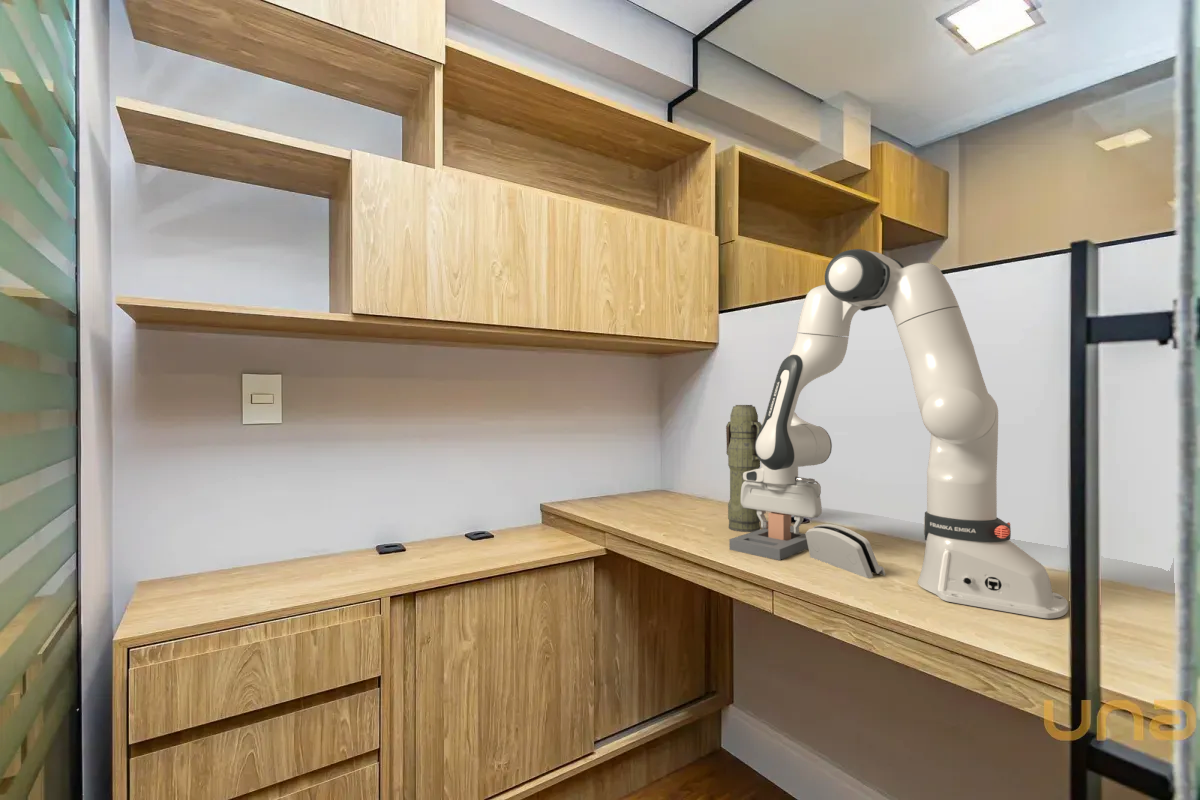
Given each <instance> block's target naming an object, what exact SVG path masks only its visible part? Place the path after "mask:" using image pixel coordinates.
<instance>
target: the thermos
mask: <svg viewBox="0 0 1200 800" xmlns="http://www.w3.org/2000/svg"><path fill="white" fill-rule="evenodd" d="M729 418H730V421H728V422H727V423H726V426H725V429H726V430H725V432H726V433H725V434H726V435H725V436H726V452H725V453H726V455H727V456H728V458H727V462H728V463H727V465H728V468H729V501H728V504H727V518H728V529H729V530H731V531H736V532H741V533H743V532H744V533H751V532H754V531H757V530H760V529H761V521H760V519H759V517H758V515H757V510H755V509H748V508H744V507H743V506H742V504H741V487H742V484H743V482H744V481H746V480H744V479H743V473H744V472H747V471H751V470H755V469H757V468H761V461H760V460H759V458H758V456H757V454H756V451H755V441H756V438H757V435H758V433H759V431H760V429H761V427H762V423H761V421H759V414H758V411H757V407H756V406H753V404H735V406H732V409H731V412H730V417H729Z"/></svg>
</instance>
